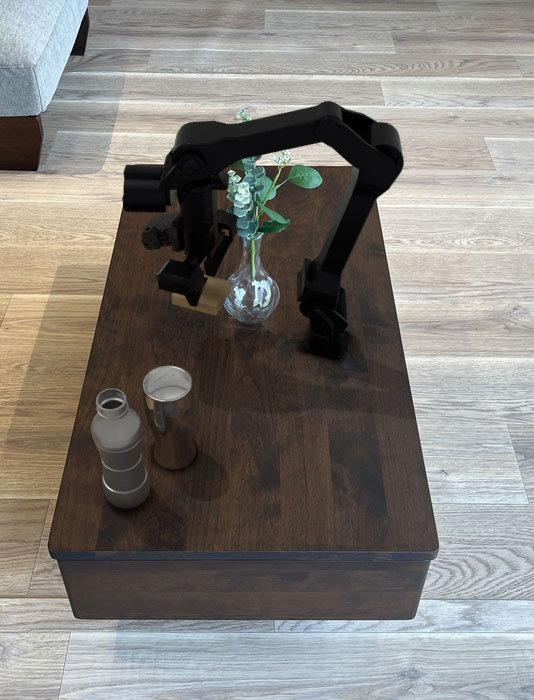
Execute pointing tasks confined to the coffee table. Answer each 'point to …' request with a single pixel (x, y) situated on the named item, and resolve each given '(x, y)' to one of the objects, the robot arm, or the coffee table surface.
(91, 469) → the coffee table surface
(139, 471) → the plastic bottle
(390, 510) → the coffee table surface
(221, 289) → the wooden block
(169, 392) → the metal cup
